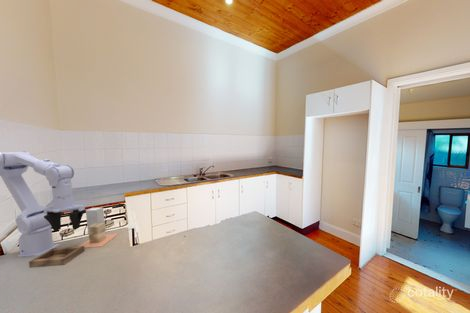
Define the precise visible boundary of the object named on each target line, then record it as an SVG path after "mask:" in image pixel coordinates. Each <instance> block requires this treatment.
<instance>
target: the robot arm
mask: <svg viewBox="0 0 470 313" xmlns="http://www.w3.org/2000/svg"><path fill="white" fill-rule="evenodd" d="M29 167H30V168H32V169H33V171H34V172H35V173H37V174H40V175H42V176H45V178H46V180H47V182H48V184H49V186H50V187H51V192H52V193H51V194H52V200H53V206H52V207H48V206H45V205H40V203H39V202H38V200H37V199H36V196H34V194H33V192H32V190H31V188H29V185H28V184H27V182H26V180H25V178H24V177H23V175H22V174H24V173H26V172H27V171H28V169H29ZM74 175H75V170H74V168H73V167H72V166H71V165H69V164H65V165H60V163H57V162H56V163H55V162H53V161H51V159H49V158H44V159H39V158H36V157H35V156H33V155H32V153H31V152H28V151H25V150H24V151H0V177H1V179H2V181H3V183H4V184H5V186H6V188H7V189H8V191H9V193H10V195H11V196H12V197H13V199H14V201H15V203H16V204H17V206H18V208H19V210H20V211H21V212H20V213H19V215H18V216H16V218H15V222H16V227H17V230H18V232H19V233H21V234H20V236H19V237H18V247H19V255H17V257H31V256H40V255H42V254H44V253H46V252H48V251H49V250H51V249H54V248H57V247H58V246H60V243H56V244H55V243H54V238H53V231H54V232H58V231H60V230H61V229H62V222H61V220H62V214H63V213H65V212H66V213H67V212H69V213H67V216H68V217H69V219H70V221H71V226H72V229H73V230H74V231H75V230H79V228H80V227H81V221H82V217H83V216H84V213H86V207H85V206H86V205H85V204H75V203H74V196H73V195H74V194H73V186H72V179H73V178H74Z"/></svg>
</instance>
